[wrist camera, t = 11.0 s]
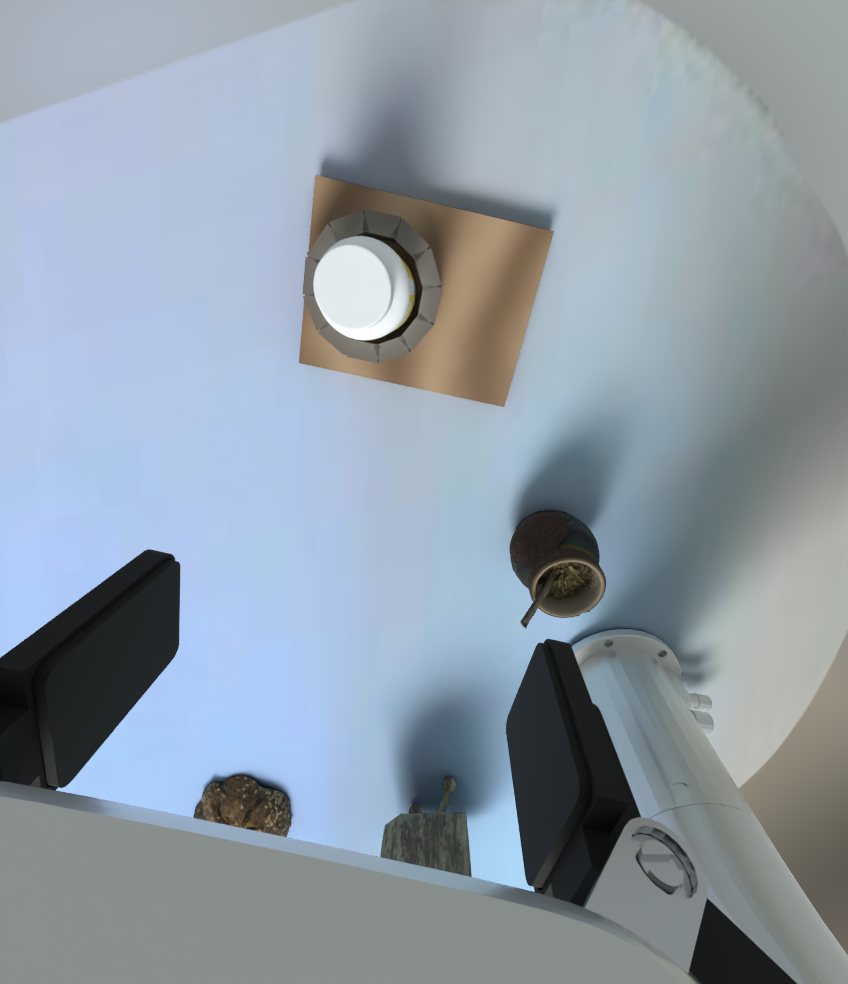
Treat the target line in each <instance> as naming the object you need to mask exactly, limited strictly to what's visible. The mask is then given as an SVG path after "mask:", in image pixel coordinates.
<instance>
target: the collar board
mask: <svg viewBox="0 0 848 984" xmlns="http://www.w3.org/2000/svg"><path fill="white" fill-rule="evenodd" d="M553 232H554V231H550V230H545V229H541V228H537V227H533V226H528V225H524V224H520V223H516V222H512V221H507V220H503V219H499V218H495V217H490V216H486V215H482V214H478V213H474V212H469V211H465V210H461V209H457V208H453V207H448V206H444V205H440V204H436V203H431V202H427V201H423V200H419V199H415V198H410V197H406V196H402V195H398V194H393V193H389V192H385V191H381V190H377V189H372V188H368V187H364V186H360V185H355V184H351V183H347V182H343V181H339V180H334V179H330V178H326V177H322V176H317V175H316V176H315V187H314V198H313V210H312V221H311V233H310V244H309V252H308V253H307V255H308V257H306V261H305V273H304V284H303V294H305V296H304V297H303V298H304V300H305V301H304V312H303V323H302V335H301V346H300V358H299V363H302V364H307V365H311V366H316V367H321V368H325V369H330V370H335V371H339V372H344V373H349V374H353V375H358V376H362V377H367V378H372V379H376V380H381V381H386V382H390V383H395V384H400V385H404V386H409V387H414V388H418V389H423V390H428V391H432V392H437V393H442V394H446V395H451V396H456V397H460V398H465V399H470V400H474V401H479V402H484V403H488V404H493V405H497V406H502V407H504V406H505V402H506V399H507V395H508V392H509V388H510V385H511V381H512V378H513V374H514V371H515V367H516V363H517V360H518V356H519V353H520V349H521V346H522V342H523V339H524V335H525V331H526V328H527V324H528V321H529V317H530V314H531V310H532V307H533V303H534V300H535V296H536V292H537V289H538V285H539V282H540V278H541V275H542V271H543V268H544V264H545V260H546V257H547V253H548V250H549V246H550V243H551V239H552V236H553ZM355 236H366V237H371V238H374V239H377V240H379V241H381V242H383V243H385V244H386V245H388V246H389V247H390V248H392V249H393V250H394V251H395V252H396V253H397V254H398V255H399V257H400V258H401V259H402V260H403V261H404V262H405V263H406V264H407V266H408V267H409V269H410V271H411V273H412V275H413V278H414V281H415V286H416V300H415V305H414V308H413V311H412V313H411V315H410V316H409V318H408V319H407V321H406V322H405V323H404V324H403V325H402V326H400V327H399V328H398V329H396V330H394V331H392V332H391V333H389V334H387V335H385V336H383V337H381V338H378V339H373V340H356V339H352V338H349V337H347V336H345V335H343V334H341V333H339V332H338V331H337V330H335V329H334V328H333V327H332V326H331V325H330V324H329V323H328V321H327V320H326V319H325V317H324V316H323V314H322V312H321V310H320V308H319V306H318V304H317V302H316V299H315V295H314V287H313V281H314V274H315V270H316V268H317V265H318V263H319V262H320V260H321V259H322V257H323V256H324V254H325V253H326V252H327V251H328V249H329V248H330V247H332V246H333V245H334V244H336V243H337V242H339V241H341V240H343V239H346V238H350V237H355Z"/></svg>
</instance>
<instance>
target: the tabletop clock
mask: <svg viewBox="0 0 848 984" xmlns="http://www.w3.org/2000/svg"><path fill="white" fill-rule="evenodd" d="M443 788H444V790H445V793H444V796H443V798H442V801H441V804H440V806H439V808H438V810H437V812H436V813H421V809H420V807H419V806H417V805H412V806H411V807H410V809H409V814H400V815H399V816H397V817H396V818H395V819H393V820H392V821H390V822H389V823H388V824H386V825H385V829H384V834H383V840H382V848H381V858H386V859H390V860H395V861H400V862H404V863H409V864H414V865H418V866H423V867H428V868H432V869H437V870H442V871H446V872H451V873H455V874H460V875H464V876H469V877H471V863H470V851H469V840H468V829H467V818H466V812H452V813H446V807H447V802H448V797H449V793H451V792H453V791H454V790H455V788H456V782H455V779H454V778H452V777H446V778H445V779H444V781H443Z"/></svg>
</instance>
